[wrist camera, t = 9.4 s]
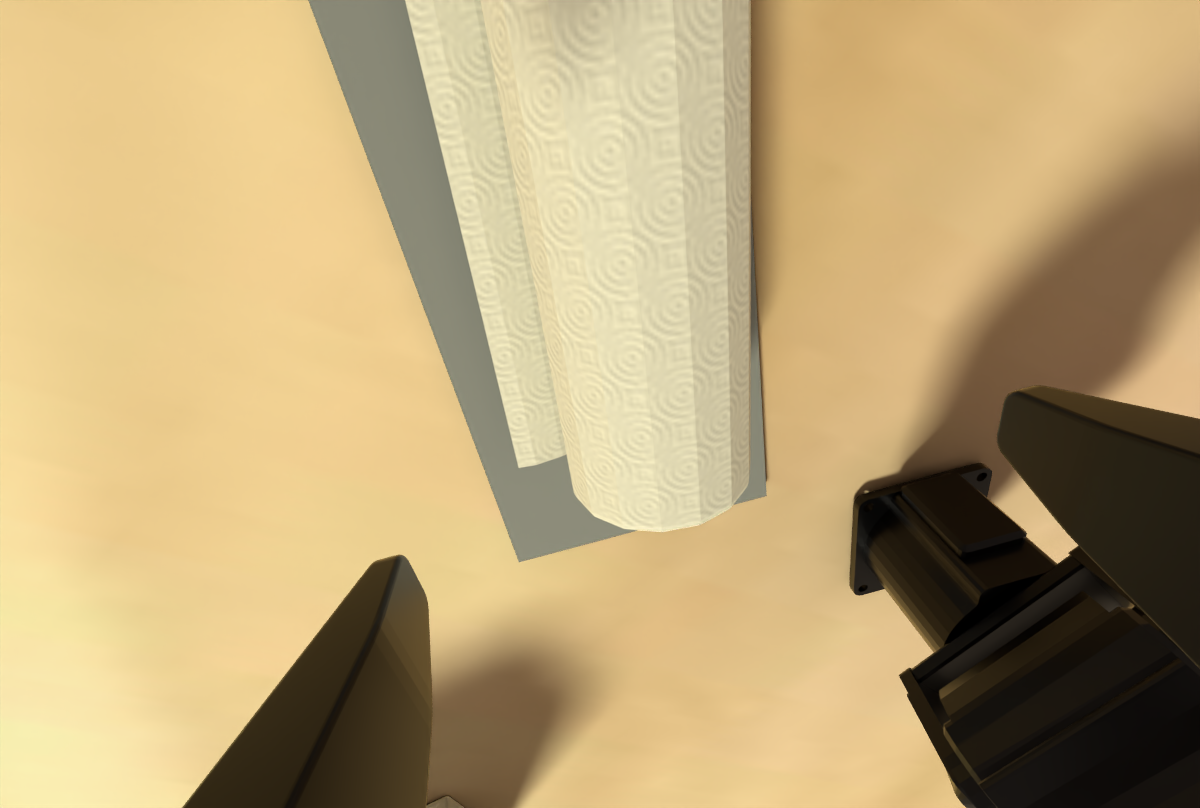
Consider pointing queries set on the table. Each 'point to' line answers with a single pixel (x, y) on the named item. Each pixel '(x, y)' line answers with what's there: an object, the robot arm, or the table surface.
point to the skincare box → (444, 803)
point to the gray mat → (463, 270)
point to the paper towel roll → (608, 235)
